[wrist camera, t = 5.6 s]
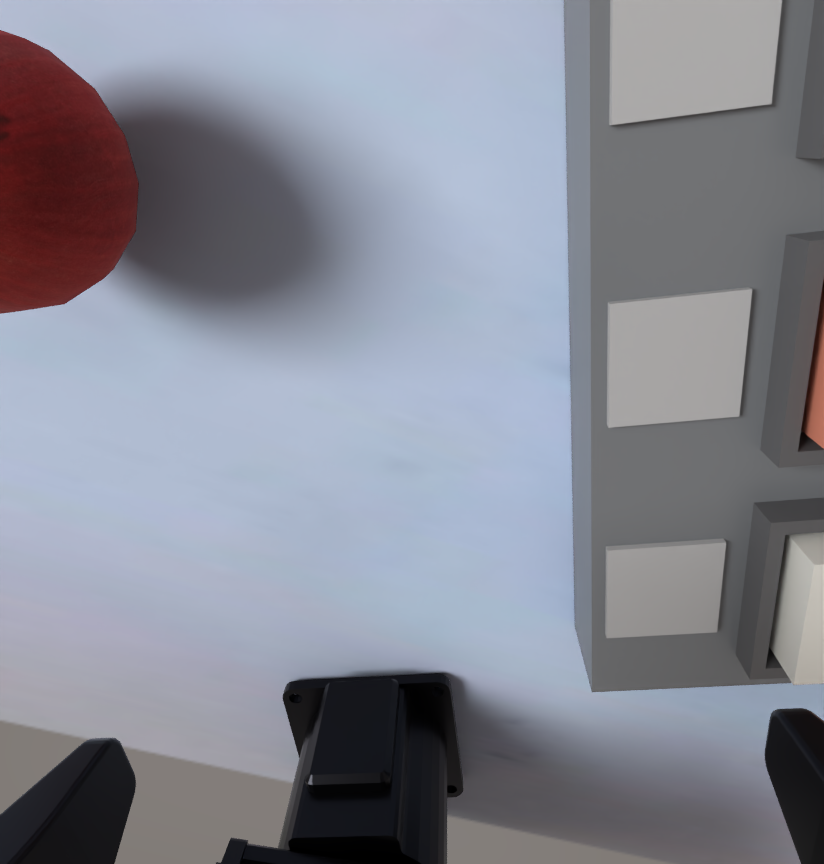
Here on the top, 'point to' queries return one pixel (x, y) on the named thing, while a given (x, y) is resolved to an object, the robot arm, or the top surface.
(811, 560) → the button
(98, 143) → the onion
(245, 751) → the top surface
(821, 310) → the button middle
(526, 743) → the top surface
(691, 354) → the button panel
